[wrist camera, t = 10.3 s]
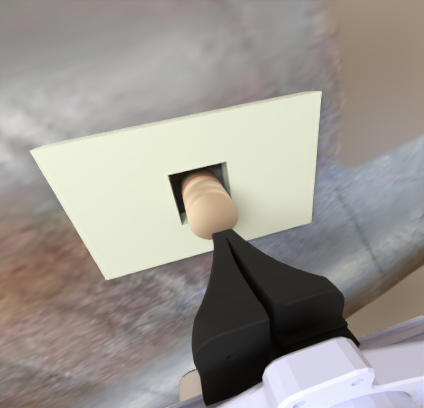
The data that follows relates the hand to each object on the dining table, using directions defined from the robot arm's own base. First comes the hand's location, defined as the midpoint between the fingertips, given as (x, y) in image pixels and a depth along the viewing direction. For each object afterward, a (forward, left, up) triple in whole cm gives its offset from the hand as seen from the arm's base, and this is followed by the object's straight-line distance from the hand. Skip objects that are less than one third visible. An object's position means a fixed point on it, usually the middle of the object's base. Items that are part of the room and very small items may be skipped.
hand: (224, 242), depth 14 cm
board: (0, 0, -10) cm, 10 cm away
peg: (0, 0, -10) cm, 10 cm away
